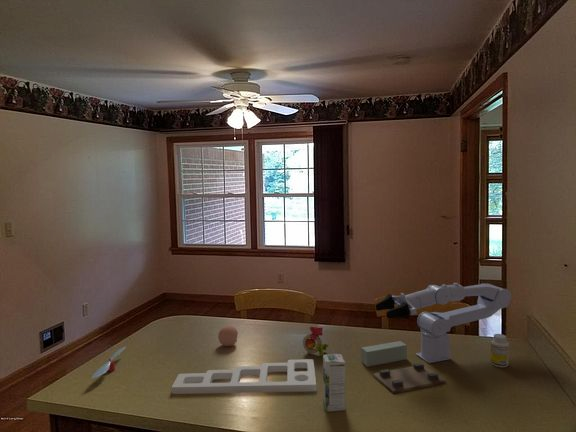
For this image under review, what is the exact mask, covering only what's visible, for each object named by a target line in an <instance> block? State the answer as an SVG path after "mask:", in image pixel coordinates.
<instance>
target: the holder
mask: <svg viewBox="0 0 576 432" xmlns="http://www.w3.org/2000/svg"><path fill="white" fill-rule="evenodd" d="M296 369H306V370H305V371H303V370H302V371H301V370H299V371H296ZM268 372H269V373H277V372H280V373H281V372H282V373H283V372H286V374H287V376H286V377H287V379H286V381H268V376H269V373H268ZM242 376H243V377H244V376H246V377H247V376H259V378H258V381H251V382H249V381H247V382H244V381H243V382H241V381H240V380H241V377H242ZM215 380H230V381H229V382H213V381H215ZM286 392H287V393H292V392H293V393H295V392H297V393H298V392H300V393H301V392H317V380H316V371H315V363H314V359H311V358H310V359H307V358H306V359H305V358H303V359H301V358H300V359H288V360H287V362H262V363H261V365H252V366H251V365H249V366H247V365H245V366H244V365H243V366H234V368H233V369H208V370H207V371H206V372H203V373H202V372H201V373H200V372H197V373H196V372H195V373H194V372H193V373H178V375H177V376H176V379H175V380H174V382H173V384H172V386H171V394H173V395H188V394H189V395H190V394H193V395H194V394H231V393H232V394H234V393H235V394H236V393H237V394H239V393H241V394H242V393H247V394H248V393H286Z"/></svg>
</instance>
